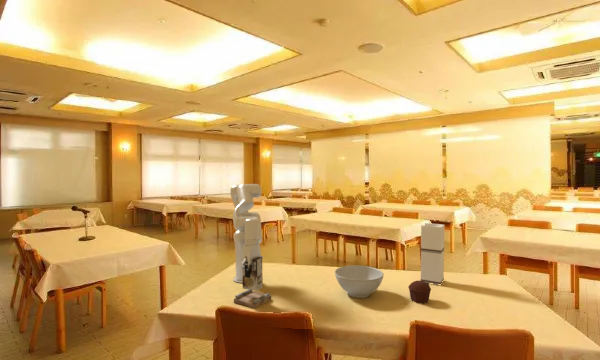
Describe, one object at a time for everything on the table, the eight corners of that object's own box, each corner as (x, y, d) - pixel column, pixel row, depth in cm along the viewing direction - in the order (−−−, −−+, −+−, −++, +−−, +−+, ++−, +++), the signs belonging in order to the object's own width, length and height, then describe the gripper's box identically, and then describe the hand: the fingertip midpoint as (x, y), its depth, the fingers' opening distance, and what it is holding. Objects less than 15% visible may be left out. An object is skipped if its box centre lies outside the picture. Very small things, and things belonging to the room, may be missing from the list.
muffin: (419, 306, 171) (419, 286, 170) (403, 298, 181) (403, 280, 180) (435, 301, 176) (436, 283, 176) (419, 294, 186) (419, 276, 186)
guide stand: (251, 294, 188) (251, 287, 188) (271, 299, 181) (271, 292, 181) (233, 302, 176) (233, 296, 176) (254, 308, 169) (254, 301, 169)
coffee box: (263, 286, 180) (262, 256, 179) (257, 290, 174) (257, 259, 173) (247, 284, 183) (247, 255, 182) (242, 288, 177) (241, 258, 176)
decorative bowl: (387, 289, 195) (387, 268, 194) (377, 306, 170) (377, 283, 170) (343, 282, 206) (343, 263, 205) (328, 298, 182) (328, 276, 181)
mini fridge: (443, 280, 209) (444, 224, 207) (440, 285, 200) (441, 227, 198) (424, 277, 215) (425, 223, 213) (420, 282, 206) (421, 225, 204)
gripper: (257, 238, 187) (257, 269, 187) (235, 244, 172) (235, 278, 173) (267, 239, 183) (268, 271, 183) (246, 246, 168) (247, 281, 169)
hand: (252, 274), depth 178 cm, fingers closed on coffee box, 7 cm apart
